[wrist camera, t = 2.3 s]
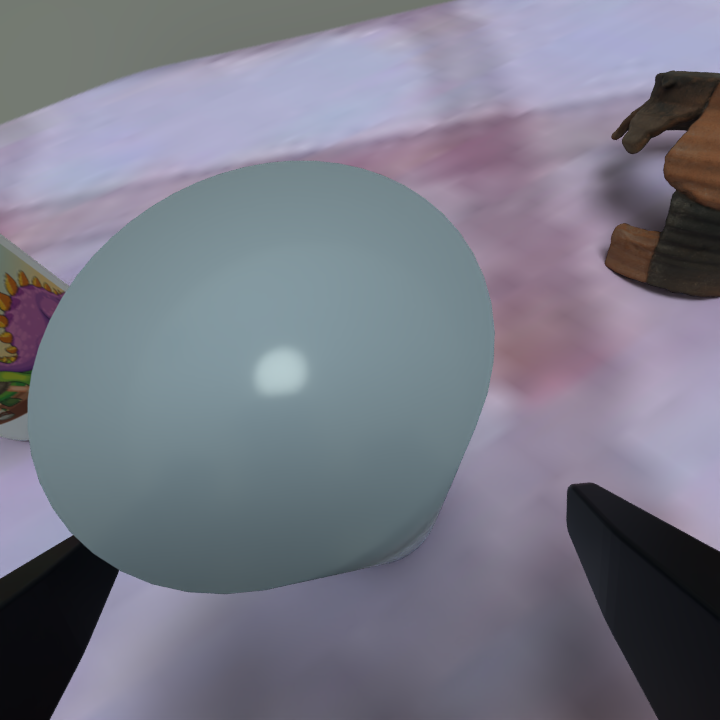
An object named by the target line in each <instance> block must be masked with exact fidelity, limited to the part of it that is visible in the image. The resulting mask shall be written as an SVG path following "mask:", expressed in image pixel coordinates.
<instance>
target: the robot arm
mask: <svg viewBox="0 0 720 720" xmlns="http://www.w3.org/2000/svg"><path fill="white" fill-rule="evenodd" d="M566 522H567V528H568V532H569V535H570V537H571V540H572V542H573V545H574V547H575V549H576V552H577V554H578V557H579V559H580V561H581V564H582V566H583V569H584V571H585V573H586V576H587V578H588V581H589V583H590V585H591V588H592V590H593V593H594V595H595V598H596V600H597V602H598V605H599V607H600V609H601V612H602V614H603V616H604V618H605V620H606V622H607V624H608V626H609V628H610V630H611V632H612V634H613V636H614V638H615V640H616V642H617V644H618V645H619V647H620V649H621V651H622V653H623V655H624V657H625V658H626V660H627V662H628V664H629V666H630V668H631V670H632V671H633V673H634V675H635V677H636V679H637V681H638V683H639V684H640V686H641V688H642V690H643V692H644V694H645V696H646V698H647V699H648V701H649V703H650V705H651V707H652V709H653V711H654V712H655V714H656V716H657V718H658V720H720V551H718V550H716V549H714V548H712V547H710V546H709V545H707V544H705V543H703V542H701V541H699V540H698V539H696V538H694V537H692V536H690V535H688V534H687V533H685V532H683V531H681V530H679V529H677V528H676V527H674V526H672V525H670V524H668V523H666V522H665V521H663V520H661V519H659V518H657V517H655V516H654V515H652V514H650V513H648V512H646V511H644V510H643V509H641V508H639V507H637V506H635V505H633V504H632V503H630V502H628V501H626V500H624V499H622V498H621V497H619V496H617V495H615V494H613V493H611V492H610V491H608V490H606V489H604V488H602V487H600V486H599V485H597V484H594V483H579V484H571V485H570V486H569V487H568V490H567V516H566ZM118 572H119V570H118V569H117V568H115V567H114V566H112V565H111V564H109V563H107V562H106V561H104V560H103V559H101V558H100V557H98V556H96V555H95V554H93V553H92V552H91V551H90V550H89V549H88V548H87V547H86V546H85V545H84V544H83V543H82V542H80V541H79V540H78V539H77V538H76V537H75V536H74V535H73V536H71V537H69V538H68V539H66V540H64V541H63V542H61V543H59V544H58V545H56V546H54V547H52V548H51V549H49V550H47V551H46V552H44V553H42V554H41V555H39V556H37V557H36V558H34V559H32V560H31V561H29V562H27V563H26V564H24V565H22V566H21V567H19V568H17V569H16V570H14V571H12V572H11V573H9V574H7V575H6V576H4V577H2V578H1V579H0V720H50V718H51V716H52V714H53V713H54V711H55V709H56V707H57V705H58V703H59V701H60V699H61V697H62V695H63V693H64V691H65V689H66V688H67V686H68V684H69V682H70V680H71V678H72V676H73V674H74V672H75V670H76V668H77V666H78V664H79V662H80V660H81V658H82V656H83V654H84V652H85V650H86V648H87V645H88V643H89V641H90V639H91V636H92V634H93V631H94V629H95V627H96V624H97V622H98V620H99V617H100V615H101V612H102V610H103V608H104V605H105V603H106V601H107V598H108V596H109V594H110V591H111V589H112V586H113V584H114V582H115V579H116V577H117V575H118Z"/></svg>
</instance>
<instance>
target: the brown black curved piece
mask: <svg viewBox="0 0 720 720" xmlns="http://www.w3.org/2000/svg"><path fill="white" fill-rule="evenodd" d="M666 130H685V131H687V132H686V133H685V134H684V135H683V136H682V137H681V138H680V139H679V140H678V142H677V143H676V144H675V145H674V147H673V148H672V149H671V150H670V151H669V152H668V154H667V155H666V156H665V164H664V169H663V171H664V177H665V179H666V180H667V181H668V183H669V184H670V185H671V186H672V187H674V188H675V189H676V191H675V192H674V194H673V195H672V199H671V203H670V208H669V213H668V216H667V219H666V223H665V227H664V229H663V231H662V232H659V231H648V230H645V229H640V228H638V227H633V226H631V225H628V224H626V223H623V224H620V225H618V226H617V227H616V228H615V229H614V231H613V233H612V236H611V244H610V247H609V250H608V254H607V258H606V260H605V265H606V266H607V267H608V268H611V269H612V270H613V271H615V272H616V273H619V274H622V275H624V276H626V277H628V278H631V279H635V280H638V281H640V282H645V283H647V284H649V285H652V286H656V287H660V288H665V289H667V290H669V291H671V292H676V293H684V294H688V295H691V296H701V297H709V296H713V297H715V296H720V73H709V72H687V71H669V72H666V73H659V74H657V75H656V78H655V85H654V88H653V91H652V93H651V97H650V99H649V100H648V101H647V102H645V103H644V104H643V105H642V106H641V107H639V108H638V109H636V110H635V111H633V112H632V113H631V114H630V115H629V116H628V117H627V118H626V119H625V120H624V121H623V122H622V123H621V125H620V127H619V128H618V129H617V130H616V131H615V132H614V133H613V134H612V137H611V138H612V139H613V140H617V139H619V138H620V137H622V136H623V135H624V134H625V133H626V132H627V131H628V132H627V133H626V134H625V136H624V137H623V139H622V144H623V146H624V148H625V149H626V151H627V152H628V153H630V154H635V153H638V152H639V151H641V150H642V149H643V148H644V146H645V145H646V144H647V143H648V142H649V140H650V139H651V138H653V137H656V136H658V135H660V134H661V133H662V132H664V131H666Z"/></svg>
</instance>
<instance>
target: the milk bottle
mask: <svg viewBox="0 0 720 720" xmlns="http://www.w3.org/2000/svg"><path fill="white" fill-rule="evenodd" d="M68 288H69V286H68V285H67V284H65V283H64V282H63V281H62V280H60V279H59V278H58V277H56V276H55V275H54V274H52V273H51V272H50V271H48V270H47V269H46V268H45V267H43V266H42V265H41V264H39V263H38V262H37V261H35V260H34V259H33V258H31V257H30V256H29V255H28V254H26V253H25V252H24V251H22V250H21V249H20V248H18V247H17V246H16V245H14V244H13V243H12V242H11V241H9V240H8V239H7V238H5V237H4V236H3V235H1V234H0V437H3V438H7V439H12V440H21V441H25V440H29V435H28V428H27V425H28V395H29V388H30V381H31V374H32V370H33V366H34V363H35V359H36V355H37V352H38V348H39V345H40V343H41V340H42V338H43V335H44V333H45V330H46V328H47V325H48V323H49V321H50V319H51V317H52V315H53V313H54V312H55V310H56V308H57V306H58V304H59V302H60V300H61V299H62V297H63V295H64V294H65V293H66V291H67V290H68Z"/></svg>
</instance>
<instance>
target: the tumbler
mask: <svg viewBox="0 0 720 720" xmlns="http://www.w3.org/2000/svg"><path fill="white" fill-rule="evenodd" d="M494 335H495V331H494V322H493V314H492V305H491V300H490V297H489V293H488V290H487V286H486V283H485V279H484V276H483V274H482V272H481V269H480V267H479V265H478V263H477V261H476V258H475V256H474V254H473V252H472V251H471V249H470V248H469V246H468V245H467V243H466V242H465V240H464V239H463V237H462V235H461V234H460V232H459V231H458V230H457V229H456V228H455V227H454V226H453V225H452V223H451V222H450V221H449V220H448V219H447V218H446V217H445V216H444V214H443V213H441V212H440V211H439V210H438V209H437V208H435V207H434V206H433V205H432V204H431V203H430V202H428V201H427V200H426V199H425V198H423V197H422V196H420V195H419V194H417V193H415V192H414V191H412V190H411V189H409V188H408V187H406V186H404V185H402V184H400V183H398V182H396V181H394V180H392V179H389V178H387V177H385V176H383V175H380V174H377V173H374V172H371V171H368V170H365V169H362V168H358V167H353V166H348V165H343V164H339V163H330V162H320V161H284V162H273V163H265V164H259V165H254V166H248V167H243V168H240V169H236V170H232V171H229V172H225V173H222V174H219V175H216V176H213V177H210V178H208V179H205V180H202V181H200V182H197V183H195V184H193V185H191V186H189V187H186V188H184V189H182V190H180V191H178V192H176V193H174V194H172V195H170V196H169V197H167V198H165V199H164V200H162V201H160V202H158V203H157V204H155V205H153V206H152V207H150V208H149V209H147V210H146V211H145V212H143V213H142V214H140V215H139V216H138V217H136V218H135V219H133V220H132V221H131V222H129V223H128V224H127V225H126V226H125V227H123V228H122V229H121V230H120V231H119V232H118V233H116V234H115V235H114V236H113V237H112V238H111V239H110V240H109V241H108V242H107V243H106V244H105V245H104V246H103V247H102V248H101V249H100V250H99V251H98V252H97V253H96V254H95V255H94V256H93V257H92V258H91V259H90V261H89V262H88V263H87V264H86V265H85V267H84V268H83V269H82V270H81V271H80V273H79V274H78V275H77V276H76V278H75V279H74V281H73V282H72V284H71V285H70V287H69V288H68V290H67V291H66V293H65V294H64V295H63V297H62V299H61V300H60V302H59V304H58V306H57V308H56V310H55V312H54V313H53V315H52V317H51V319H50V321H49V323H48V325H47V328H46V330H45V333H44V335H43V338H42V340H41V343H40V345H39V348H38V352H37V355H36V359H35V363H34V366H33V370H32V374H31V381H30V388H29V395H28V425H27V428H28V435H29V442H30V449H31V456H32V459H33V462H34V466H35V469H36V472H37V475H38V479H39V482H40V484H41V486H42V488H43V490H44V492H45V494H46V496H47V498H48V500H49V502H50V504H51V506H52V508H53V509H54V511H55V512H56V513H57V515H58V516H59V517H60V519H61V520H62V522H63V523H64V524H65V526H66V527H67V528H68V530H69V531H70V532H71V533H72V534H73V535H74V536H75V537H76V538H77V539H78V540H79V541H80V542H82V543H83V544H84V545H85V546H86V547H87V548H88V549H89V550H90V551H91V552H92V553H93V554H95V555H96V556H98V557H100V558H101V559H103V560H104V561H106V562H107V563H109V564H111V565H112V566H114V567H115V568H117V569H118V570H120V571H122V572H124V573H127V574H129V575H132V576H134V577H136V578H139V579H141V580H144V581H146V582H149V583H151V584H154V585H159V586H163V587H168V588H172V589H177V590H181V591H186V592H196V593H215V594H232V593H242V592H251V591H261V590H268V589H272V588H277V587H282V586H286V585H291V584H295V583H300V582H305V581H309V580H314V579H318V578H323V577H328V576H332V575H337V574H341V573H346V572H351V571H355V570H360V569H364V568H369V567H374V566H378V565H383V564H387V563H391V562H395V561H397V560H399V559H402V558H404V557H405V556H407V555H409V554H410V553H412V552H413V551H414V550H416V549H417V548H418V547H419V546H420V545H421V544H422V543H423V542H424V541H425V539H426V538H427V536H428V535H429V534H430V532H431V530H432V528H433V526H434V524H435V522H436V519H437V517H438V515H439V512H440V510H441V508H442V505H443V503H444V501H445V498H446V496H447V493H448V491H449V489H450V486H451V484H452V482H453V479H454V477H455V475H456V472H457V470H458V467H459V465H460V463H461V460H462V458H463V456H464V453H465V451H466V449H467V446H468V444H469V441H470V439H471V437H472V434H473V432H474V430H475V427H476V425H477V422H478V419H479V416H480V413H481V410H482V408H483V405H484V402H485V399H486V396H487V393H488V388H489V383H490V377H491V372H492V367H493V360H494Z"/></svg>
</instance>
